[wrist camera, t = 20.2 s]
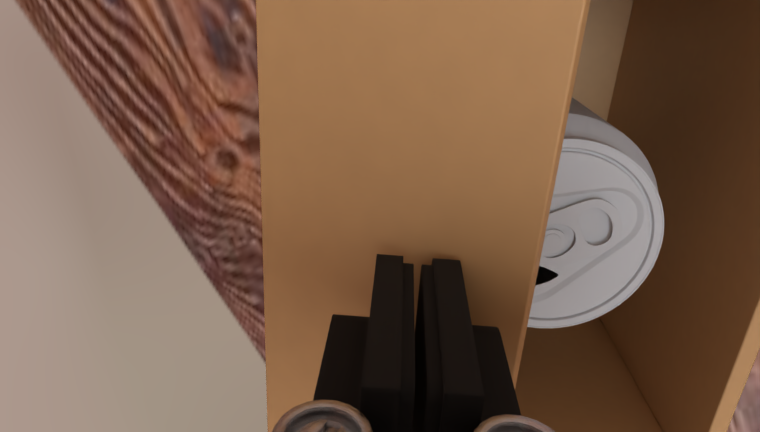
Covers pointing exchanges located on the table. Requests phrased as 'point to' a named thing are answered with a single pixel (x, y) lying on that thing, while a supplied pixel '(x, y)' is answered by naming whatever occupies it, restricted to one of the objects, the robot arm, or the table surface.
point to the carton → (668, 226)
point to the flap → (405, 159)
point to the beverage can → (596, 225)
